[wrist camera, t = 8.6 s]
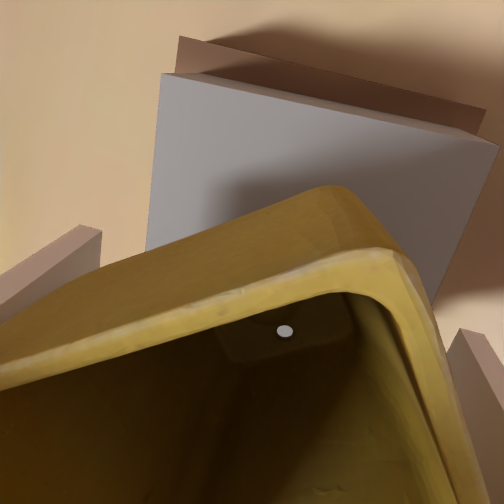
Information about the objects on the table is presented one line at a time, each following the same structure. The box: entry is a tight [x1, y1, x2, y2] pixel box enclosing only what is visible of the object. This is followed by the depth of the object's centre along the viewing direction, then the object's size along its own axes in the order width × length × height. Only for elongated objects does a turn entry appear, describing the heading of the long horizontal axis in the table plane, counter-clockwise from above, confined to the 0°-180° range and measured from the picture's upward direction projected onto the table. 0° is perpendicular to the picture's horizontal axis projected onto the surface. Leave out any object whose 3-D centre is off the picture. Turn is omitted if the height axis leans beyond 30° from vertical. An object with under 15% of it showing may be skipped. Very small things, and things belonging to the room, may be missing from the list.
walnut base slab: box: [175, 36, 486, 135], centre depth 24 cm, size 14×14×5 cm
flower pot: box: [0, 185, 491, 504], centre depth 11 cm, size 9×9×9 cm
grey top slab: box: [145, 73, 500, 337], centre depth 19 cm, size 12×12×5 cm
